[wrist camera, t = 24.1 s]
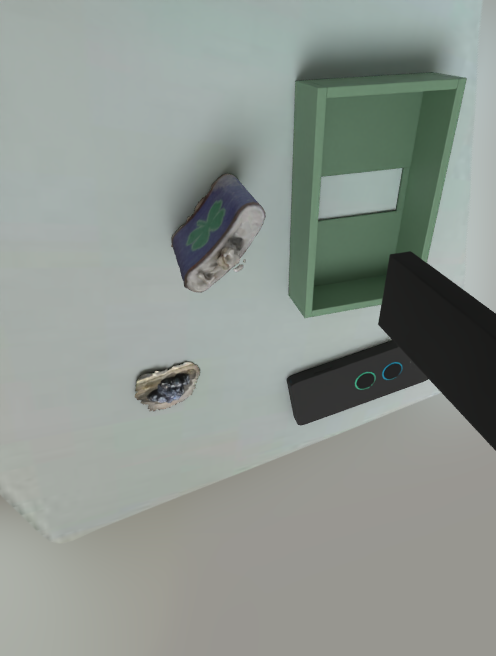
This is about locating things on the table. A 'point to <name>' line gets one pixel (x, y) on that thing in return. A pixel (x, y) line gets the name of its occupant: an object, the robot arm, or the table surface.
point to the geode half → (167, 386)
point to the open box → (363, 156)
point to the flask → (217, 233)
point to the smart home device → (351, 382)
